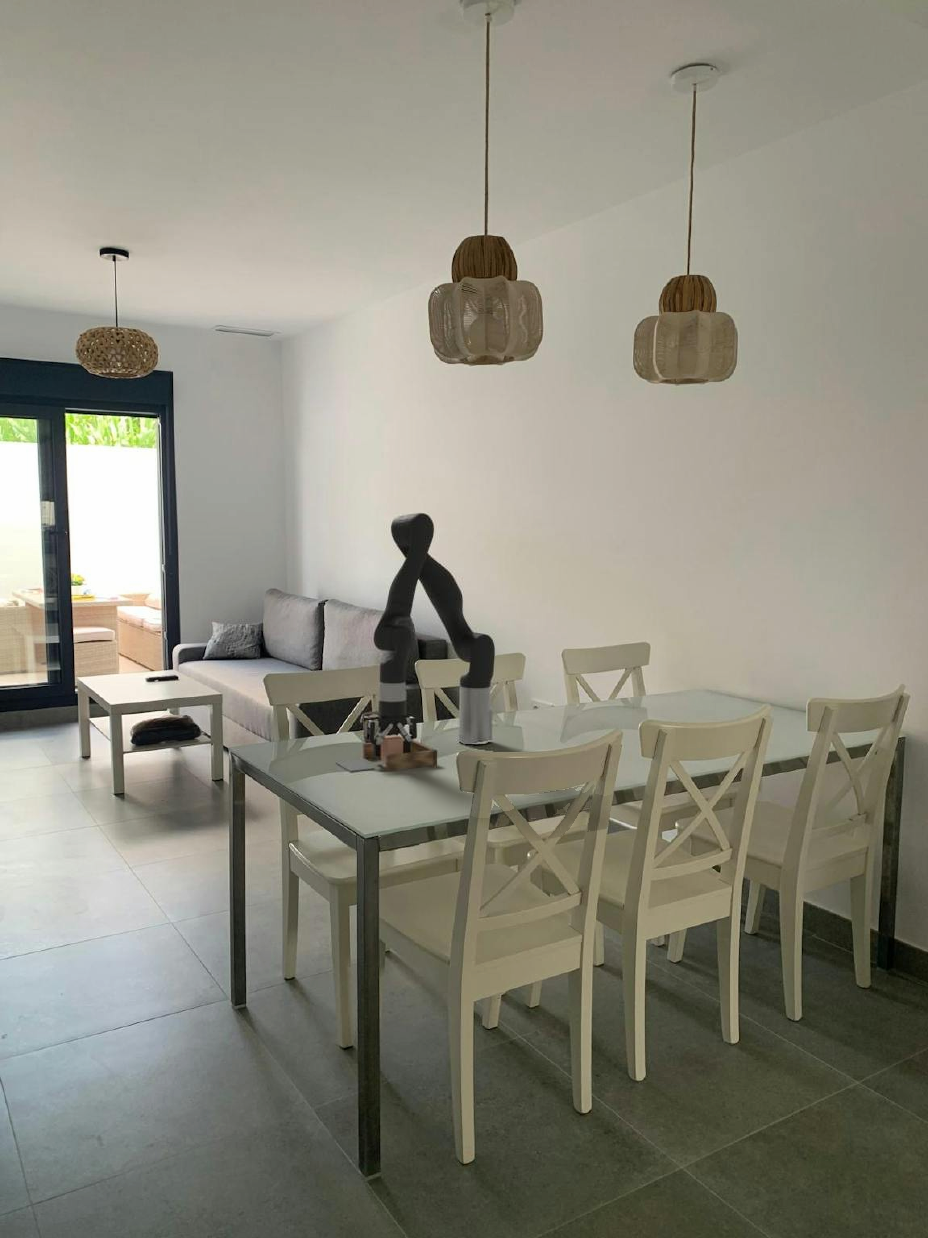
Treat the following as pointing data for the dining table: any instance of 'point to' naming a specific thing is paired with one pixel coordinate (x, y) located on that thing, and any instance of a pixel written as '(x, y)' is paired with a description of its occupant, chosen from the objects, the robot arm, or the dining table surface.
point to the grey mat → (355, 765)
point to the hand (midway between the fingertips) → (391, 756)
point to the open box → (406, 756)
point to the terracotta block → (391, 746)
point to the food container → (373, 717)
